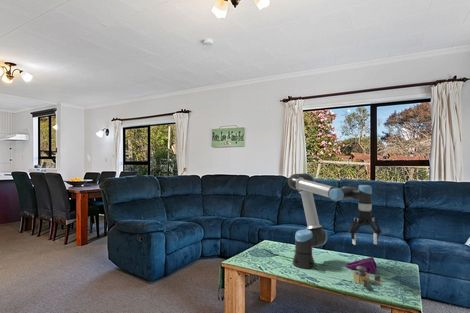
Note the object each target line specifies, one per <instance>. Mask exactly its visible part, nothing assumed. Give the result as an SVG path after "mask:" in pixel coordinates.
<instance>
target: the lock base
mask: <svg viewBox="0 0 470 313" xmlns="http://www.w3.org/2000/svg"><path fill="white" fill-rule="evenodd" d="M356 270H357V271H358V275H360V276H365V271H366V268H365V267H363V266H357V268H356ZM373 275H374V280H369V283H375V284H383V285H384V281H381V275H378V274H373Z"/></svg>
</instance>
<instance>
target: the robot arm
mask: <svg viewBox="0 0 470 313" xmlns="http://www.w3.org/2000/svg"><path fill="white" fill-rule="evenodd" d="M287 184H288V186H289V188H291V189H293V190H295V191H297V192H298V194H300V195H301V200H302V205H303V209H304V211H303V212H304V214H305V215H304V216H305V220H306V225H307V227H306V229H298V230H296V232H295V234H294V235H295V236H294V240H295V241H294V243H295V244H294V255H293V258H292V265H293V266H294V267H296V268H300V269H306V270H307V269H313V268H314V267H315V265H316V264H315V259H314V256H313V249H314V248H317V247H321V246H323V245H325V244H326V243H327V241H328V233H327V231H326V230H325V229H324V228H323V226H322V225H321V224H320V220H319V217H318V212H317V208H316V203H315V198H314V194H316V195H318V196H323V197H325V198H330V200H332V201H334V202H335V201H337V202H338V201H344V200H356V201H357V200H358V205H357V206H358V208H357V209H358V217H353V219H352V222H351V224H350V227H349V228H348V230H347V231H348V233H350V238H351V241H352V242H351V244H353V245H354V246H356V244H357V241H356V240H357V236H356V235H357V234H356V233H357V231H358V230H359V229H360V228H361V227H362V226H369V227H370V228H371V230H372V231H373V238H372V239H373V241H372V242H373V244H374V245H378V240H379V235H380V234H381V233H382V229H381V228H380V226H379V223H378V222H377V220H378V219H377V218H376V217H372V216H373V215H372V208H373V206H372V205H373V204H372V203H373V202H372V201H373V200H372V198H373V187H372V186H371V185H368V184H359V185H358V187H353V186H342V187H336V186H332V185H328V184H325V183H320V182H316V179H315V176H313V175H312V174H310V173H308V172H307V173H293V174H291V175H290V176H289V178H288V180H287ZM372 222H373V223H372Z"/></svg>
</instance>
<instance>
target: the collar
mask: <svg viewBox="0 0 470 313" xmlns="http://www.w3.org/2000/svg"><path fill="white" fill-rule="evenodd" d="M353 280H354V282H356V283H359V284H362V286H363V287H364V288H368V284H369V283H370V274H369V273H366V272H365V276H360V275H358V270H355V271H353Z"/></svg>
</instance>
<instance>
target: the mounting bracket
mask: <svg viewBox="0 0 470 313" xmlns="http://www.w3.org/2000/svg"><path fill="white" fill-rule="evenodd" d="M377 265H378V264H377V262H376V261H375V258H374V256H371V257H367V258H363V259H359V260H355V261H350V262H348V263H346V264H345V267H346V269H349V270H355V269H357V266H363V267H365V268H366V271H365V272H366V273H368V274H369V275H375V273H376V270H377V267H378V266H377Z"/></svg>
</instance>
